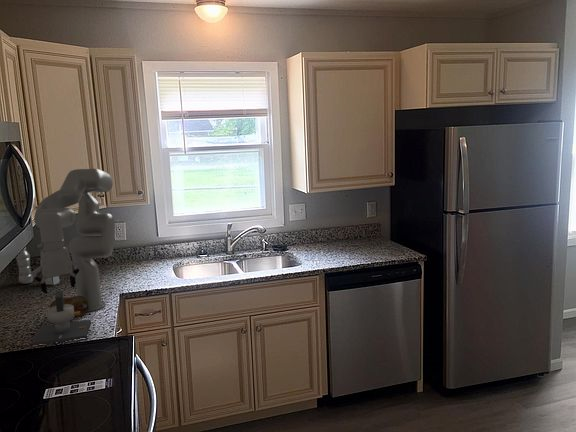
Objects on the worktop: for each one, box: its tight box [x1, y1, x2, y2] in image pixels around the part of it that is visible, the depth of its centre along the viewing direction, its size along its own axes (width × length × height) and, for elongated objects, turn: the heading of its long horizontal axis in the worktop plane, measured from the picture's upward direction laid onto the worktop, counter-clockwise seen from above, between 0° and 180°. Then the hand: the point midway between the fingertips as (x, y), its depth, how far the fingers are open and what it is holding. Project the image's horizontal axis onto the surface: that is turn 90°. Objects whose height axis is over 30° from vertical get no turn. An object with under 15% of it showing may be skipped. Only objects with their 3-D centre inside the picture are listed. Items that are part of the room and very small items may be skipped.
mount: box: [32, 319, 92, 346], centre depth 186 cm, size 17×18×6 cm
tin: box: [48, 295, 89, 318], centre depth 204 cm, size 15×3×8 cm, turn 106°
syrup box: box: [45, 276, 60, 286], centre depth 253 cm, size 6×6×14 cm
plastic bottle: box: [15, 246, 34, 285], centre depth 255 cm, size 6×7×20 cm
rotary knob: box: [46, 290, 80, 324], centre depth 185 cm, size 11×9×10 cm
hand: (59, 289), depth 184 cm, fingers open, 9 cm apart
